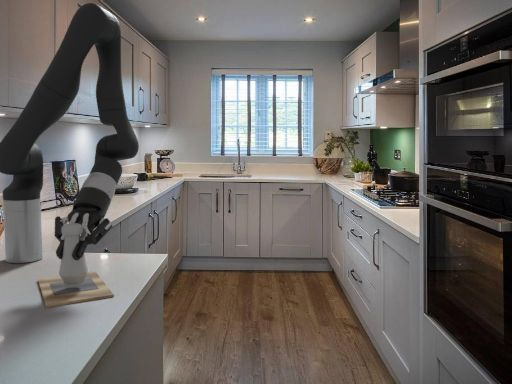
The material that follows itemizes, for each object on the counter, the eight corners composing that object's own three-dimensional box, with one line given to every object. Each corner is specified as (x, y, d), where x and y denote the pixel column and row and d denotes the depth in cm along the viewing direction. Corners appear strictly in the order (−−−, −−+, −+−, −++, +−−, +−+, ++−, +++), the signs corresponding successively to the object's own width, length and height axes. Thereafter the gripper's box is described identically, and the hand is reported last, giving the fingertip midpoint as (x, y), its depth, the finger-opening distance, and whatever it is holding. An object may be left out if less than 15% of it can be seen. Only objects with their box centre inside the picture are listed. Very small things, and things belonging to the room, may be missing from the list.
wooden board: (38, 281, 103) (38, 278, 103) (95, 273, 110) (95, 271, 110) (46, 307, 86) (46, 304, 86) (113, 296, 93) (113, 293, 93)
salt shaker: (77, 287, 93) (75, 226, 91) (53, 285, 94) (51, 225, 93) (93, 279, 98) (91, 222, 97) (70, 277, 100) (68, 221, 98)
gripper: (62, 184, 103) (29, 247, 92) (117, 186, 100) (90, 250, 90) (75, 204, 108) (46, 265, 98) (128, 206, 106) (104, 268, 95)
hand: (67, 257), depth 94 cm, fingers closed on salt shaker, 3 cm apart
